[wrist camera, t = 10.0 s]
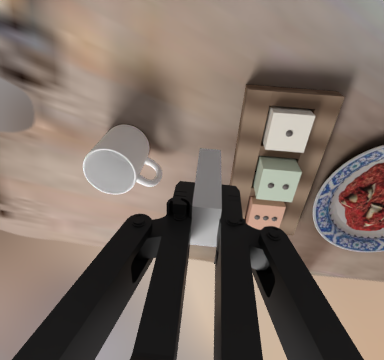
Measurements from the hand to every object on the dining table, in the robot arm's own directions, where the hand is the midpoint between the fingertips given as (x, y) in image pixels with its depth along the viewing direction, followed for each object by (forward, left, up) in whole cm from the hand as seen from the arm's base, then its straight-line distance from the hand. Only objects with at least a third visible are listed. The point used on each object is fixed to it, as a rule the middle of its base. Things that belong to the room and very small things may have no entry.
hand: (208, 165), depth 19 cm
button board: (+14, +12, -26) cm, 32 cm away
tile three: (+22, +12, -26) cm, 36 cm away
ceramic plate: (+19, +34, -27) cm, 47 cm away
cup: (+13, -13, -27) cm, 32 cm away
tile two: (+14, +12, -24) cm, 30 cm away
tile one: (+6, +12, -26) cm, 29 cm away
